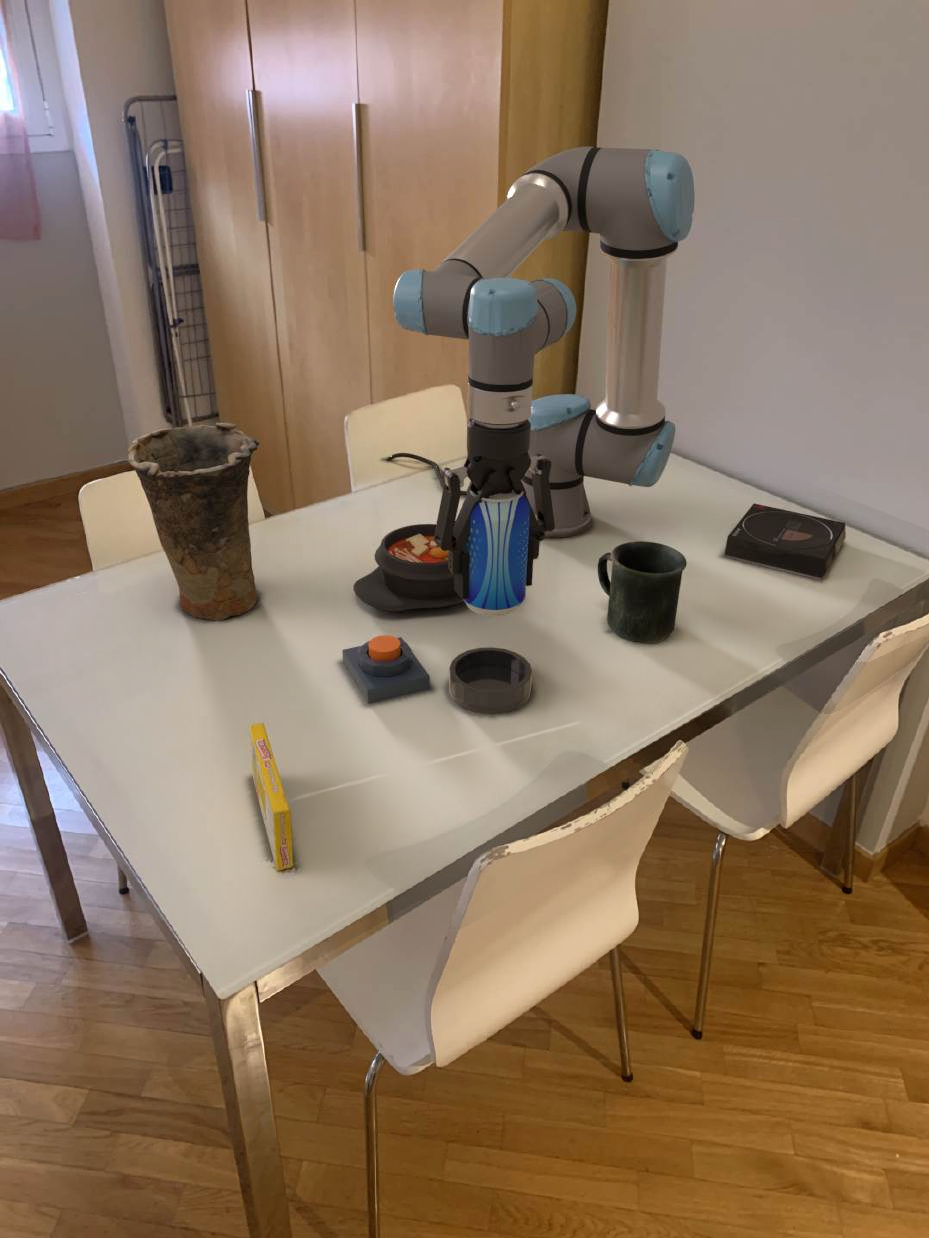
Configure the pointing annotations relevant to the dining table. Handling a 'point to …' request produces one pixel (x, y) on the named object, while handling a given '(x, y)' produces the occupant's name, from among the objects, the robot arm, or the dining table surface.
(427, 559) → the casserole
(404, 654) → the button base
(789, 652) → the dining table surface
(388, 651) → the button
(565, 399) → the robot arm
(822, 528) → the portable cd player
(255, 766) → the candy box
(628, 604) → the mug
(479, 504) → the beer can
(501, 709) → the dock
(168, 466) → the vase
